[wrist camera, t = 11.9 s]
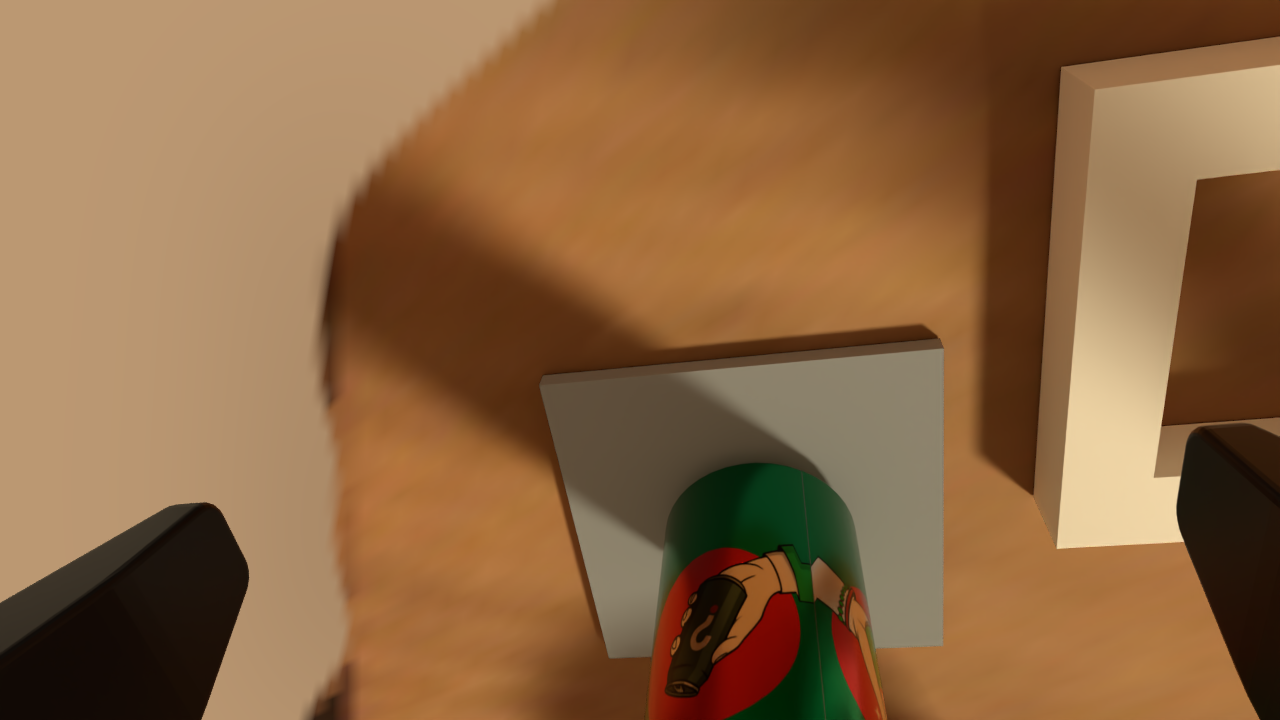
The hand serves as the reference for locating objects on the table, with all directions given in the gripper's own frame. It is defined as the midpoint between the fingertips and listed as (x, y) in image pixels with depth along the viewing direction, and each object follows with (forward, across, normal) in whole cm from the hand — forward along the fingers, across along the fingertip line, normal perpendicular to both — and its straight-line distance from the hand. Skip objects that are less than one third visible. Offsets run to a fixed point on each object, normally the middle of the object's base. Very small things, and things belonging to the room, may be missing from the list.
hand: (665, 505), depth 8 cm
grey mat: (+13, 0, +11) cm, 17 cm away
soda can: (+13, 0, +11) cm, 17 cm away
